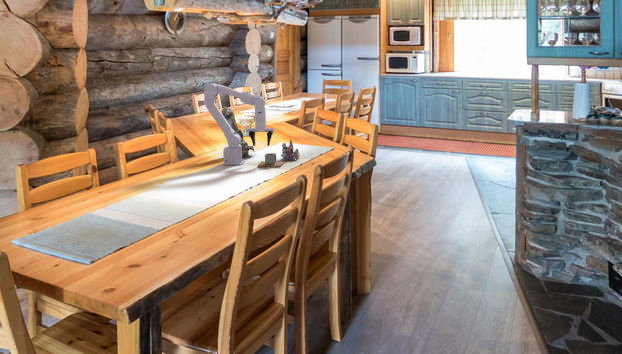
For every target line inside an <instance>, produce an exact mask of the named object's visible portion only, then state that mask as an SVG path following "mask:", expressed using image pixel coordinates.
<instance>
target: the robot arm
mask: <svg viewBox="0 0 622 354" xmlns="http://www.w3.org/2000/svg"><path fill="white" fill-rule="evenodd" d="M224 94H225V95H228V96H231V97H234V98H237V99H239V100H240V101H239V102H241V103H243V104H246V105H250V106H254V127H247V128H246V133H248V136H249V137H250V140H251V142H252V146H253V147H255V146H256V133H266V136H267V147H269V146H270V144H271V143H270V142H271V139H272V136H273V134H274V133H275V129H276V128H274V127H267V114H266V112H267V111H266V99H265V98H264V97H263V96H261V95H259V94H253V93H251V92H250V91H249V90H246V91H245V90H244V91H242V92H241V91H238V90H236V89H233V88H231V87H229V86H226V85H223V84H219V83H218V84H217V83H215V82H211V83H210V84H209V83H208V84H207V85H206V86H205V88H204V91H203V96H204V98H203V99H204V106H205V107H206V109H207V111H208V112H209V113H210V114H211V116H212V117H213V119H214V122H216V124H217V125H218V126H219V128H220V129H221V131H222V133H223V135H224V137H225V139H226V142H227V147H226V146H225V147H224V148H223V165H224V166H227V165H228V166H240V165H243V164H244V163H245V161H244V160H243V156H242V147H241V145H240V144H239V143H240V142H241V137H240V135H239V134H237V133H236V132H235V131H234V130H233V129H232V128H231V126H230V125H229V123H228V122H227V120H226V119H225V117H224V116H223V114H222V112H221V111H222V110H220V109H219V107H218V106H217V104H216V99H217V96H218V95H224Z"/></svg>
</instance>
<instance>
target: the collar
mask: <svg viewBox="0 0 622 354" xmlns="http://www.w3.org/2000/svg"><path fill="white" fill-rule="evenodd" d="M264 162H265V165H275V164H276V162H277V153H275V152H274V153H273V152H271V153H270V152H269V153H265V154H264Z"/></svg>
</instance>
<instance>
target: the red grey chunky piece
mask: <svg viewBox="0 0 622 354" xmlns="http://www.w3.org/2000/svg"><path fill="white" fill-rule="evenodd" d="M288 144H289V145H288V146H287V144H286V142H283V143H282V144H281V147H282V148H281V149H282V150H281V152H282V154H280V156H281V157H282V158H283V159H284V160H285V161H296V160H295V159H297V160H298V159H300V152H299V149H298V148H295V150H294V144H293V140H292V139H290V140H289V143H288ZM293 159H294V160H293Z"/></svg>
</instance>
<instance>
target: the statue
mask: <svg viewBox="0 0 622 354" xmlns="http://www.w3.org/2000/svg"><path fill="white" fill-rule="evenodd" d="M220 111H221V113H222V114H223V116H224V117H225V119H226V120H227V122H228V123H229V125H230V126H231V128H232V129H233V130H234V131H235V132H236V133H237V134H239V135H240V137H241V142H240V143H239V144H240V145H241V147H242V157H244V156H249V152H250V151H251V152H254V153H256V152H255V148H254V146H253V145H249V144H248V142H246V141H245V139H244V135H243V131H242V129H241V128H239V126H238V123H237V121H236V117H235V113H234V111H233V109H232V108H230V107H228V106H224V107H223V109H222V110H220Z"/></svg>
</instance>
